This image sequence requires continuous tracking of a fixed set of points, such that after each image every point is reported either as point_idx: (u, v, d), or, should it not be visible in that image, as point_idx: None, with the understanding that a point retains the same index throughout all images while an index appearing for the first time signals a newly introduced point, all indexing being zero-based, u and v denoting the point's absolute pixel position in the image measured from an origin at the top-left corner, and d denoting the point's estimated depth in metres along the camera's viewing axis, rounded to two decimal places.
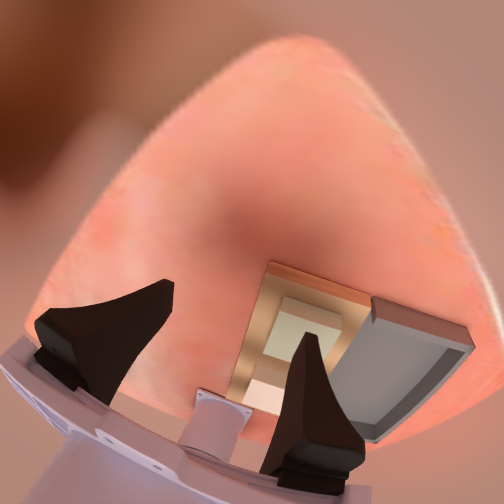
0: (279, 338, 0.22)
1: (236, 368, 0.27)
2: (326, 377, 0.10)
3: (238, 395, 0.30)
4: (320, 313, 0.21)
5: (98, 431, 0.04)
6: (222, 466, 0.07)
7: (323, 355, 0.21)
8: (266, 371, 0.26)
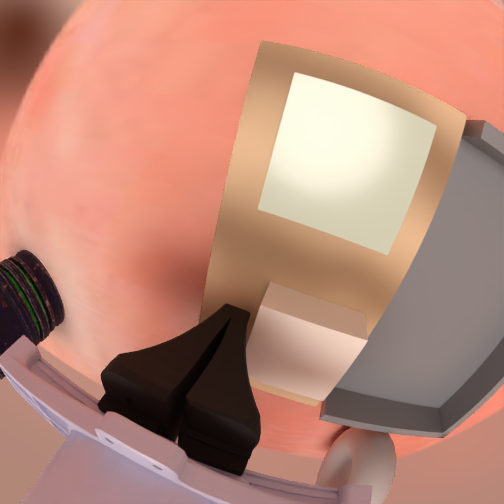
0: (297, 154, 0.09)
1: (207, 290, 0.15)
2: (243, 350, 0.10)
3: None
4: None
5: (98, 431, 0.04)
6: (221, 466, 0.07)
7: (402, 202, 0.08)
8: (290, 294, 0.13)
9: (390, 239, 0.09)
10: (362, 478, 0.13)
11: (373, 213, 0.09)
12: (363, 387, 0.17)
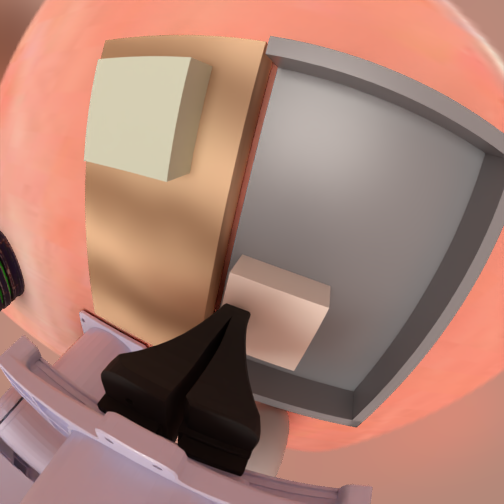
0: (99, 115, 0.10)
1: (87, 239, 0.16)
2: (243, 350, 0.10)
3: (106, 306, 0.18)
4: None
5: (98, 431, 0.04)
6: (222, 466, 0.07)
7: (168, 131, 0.10)
8: (259, 265, 0.14)
9: (165, 166, 0.10)
10: None
11: (147, 146, 0.10)
12: None
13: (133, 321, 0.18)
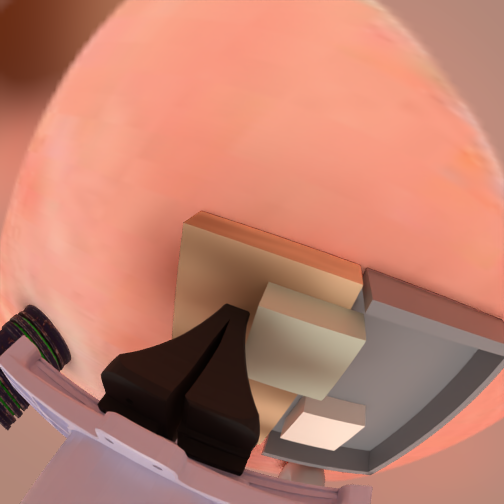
0: (260, 352, 0.13)
1: None
2: (242, 350, 0.10)
3: None
4: (329, 311, 0.12)
5: (98, 431, 0.04)
6: (221, 466, 0.07)
7: (333, 379, 0.12)
8: None
9: (323, 394, 0.13)
10: None
11: (311, 383, 0.13)
12: None
13: None
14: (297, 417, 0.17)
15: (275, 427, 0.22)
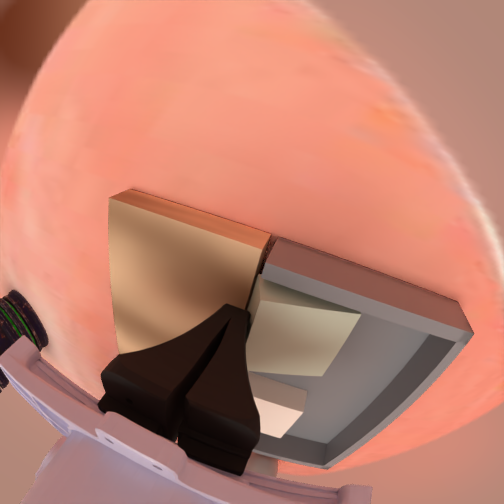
0: (262, 344, 0.13)
1: (119, 345, 0.20)
2: (242, 350, 0.10)
3: None
4: None
5: (98, 431, 0.04)
6: (222, 466, 0.07)
7: (332, 354, 0.14)
8: (255, 379, 0.18)
9: (323, 370, 0.14)
10: None
11: (312, 362, 0.14)
12: None
13: None
14: None
15: None
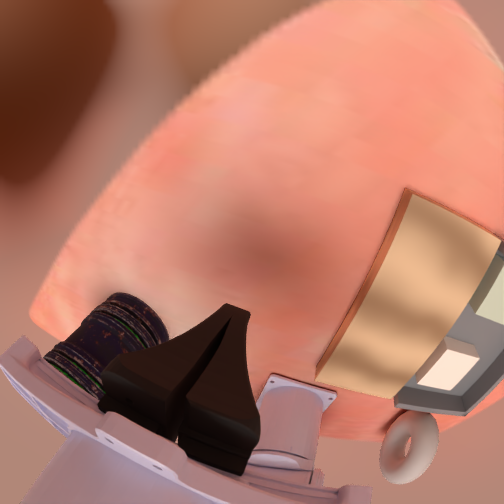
0: (494, 294, 0.16)
1: (345, 335, 0.21)
2: (243, 350, 0.10)
3: (334, 374, 0.24)
4: None
5: (98, 431, 0.04)
6: (222, 466, 0.07)
7: None
8: (451, 340, 0.20)
9: None
10: (421, 443, 0.19)
11: None
12: (418, 384, 0.24)
13: (357, 381, 0.23)
14: (439, 357, 0.20)
15: None
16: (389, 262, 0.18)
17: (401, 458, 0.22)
